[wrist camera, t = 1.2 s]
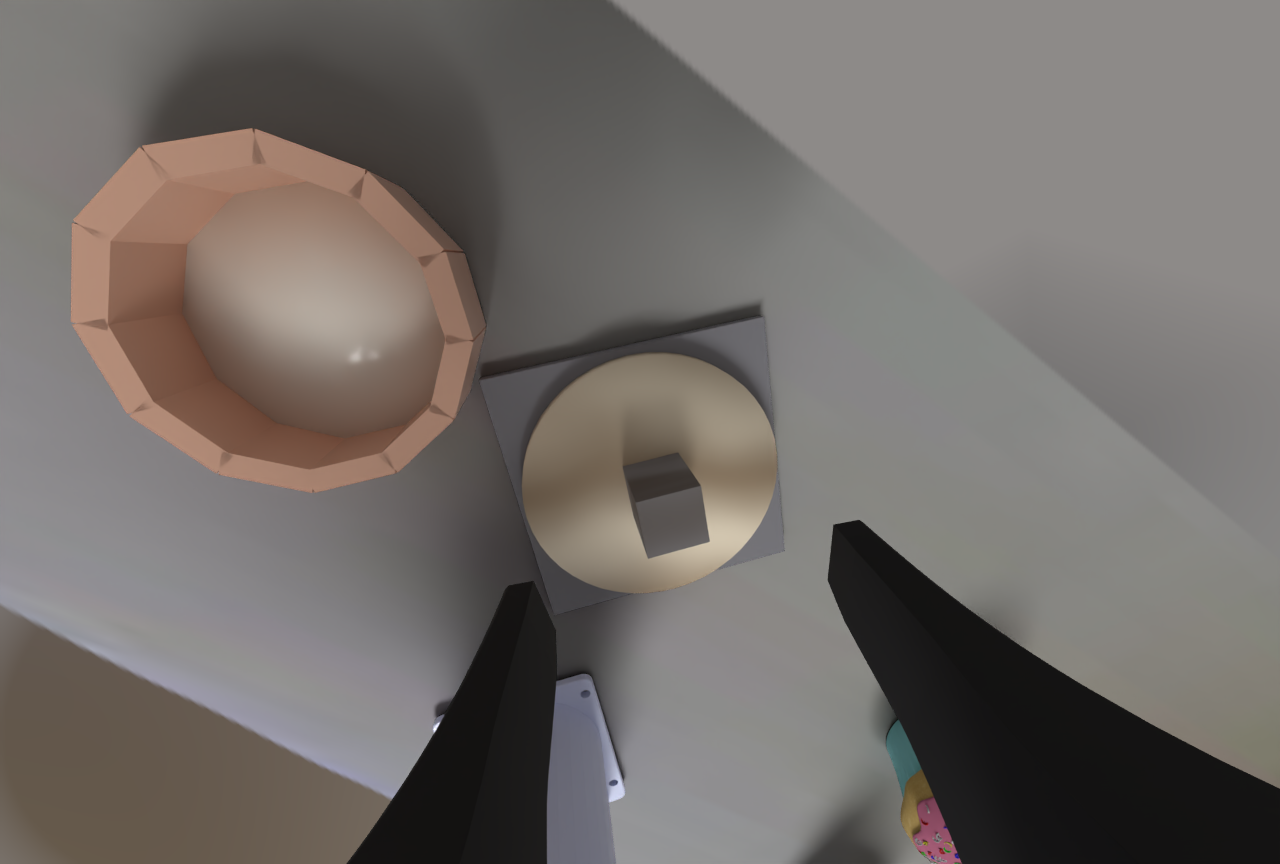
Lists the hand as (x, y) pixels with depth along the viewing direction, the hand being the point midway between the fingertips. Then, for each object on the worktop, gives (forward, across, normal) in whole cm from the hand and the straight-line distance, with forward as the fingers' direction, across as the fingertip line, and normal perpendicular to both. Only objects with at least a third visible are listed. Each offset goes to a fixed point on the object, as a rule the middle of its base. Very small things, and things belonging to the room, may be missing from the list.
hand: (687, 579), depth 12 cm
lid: (+9, 0, +4) cm, 10 cm away
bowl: (+10, +10, -5) cm, 15 cm away
